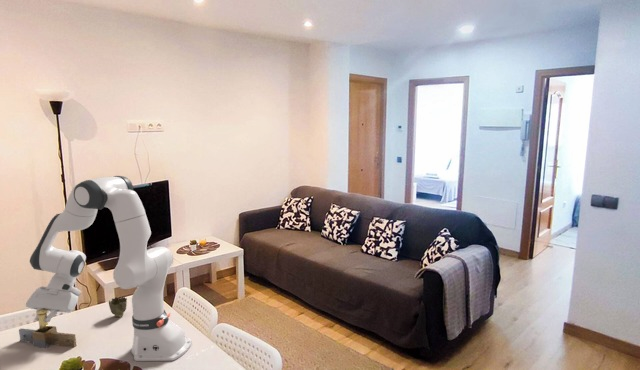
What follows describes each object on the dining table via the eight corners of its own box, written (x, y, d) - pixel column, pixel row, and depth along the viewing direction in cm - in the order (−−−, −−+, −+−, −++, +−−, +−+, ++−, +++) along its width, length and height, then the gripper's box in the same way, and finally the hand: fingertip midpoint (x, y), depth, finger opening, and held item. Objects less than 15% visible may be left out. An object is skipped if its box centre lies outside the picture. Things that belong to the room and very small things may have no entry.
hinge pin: (52, 332, 156) (49, 309, 155) (44, 336, 153) (41, 313, 151) (44, 331, 157) (41, 308, 156) (36, 336, 154) (33, 312, 152)
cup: (120, 321, 173) (118, 304, 172) (106, 319, 174) (104, 302, 173) (131, 313, 180) (130, 297, 179) (117, 311, 182) (116, 295, 180)
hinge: (81, 342, 156) (79, 328, 155) (69, 350, 150) (68, 336, 149) (27, 336, 160) (25, 323, 160) (14, 344, 155) (13, 330, 154)
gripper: (33, 283, 161) (13, 316, 153) (75, 286, 157) (57, 321, 149) (43, 288, 166) (25, 321, 158) (85, 292, 162) (68, 325, 154)
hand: (41, 321), depth 153 cm, fingers closed on hinge pin, 3 cm apart
